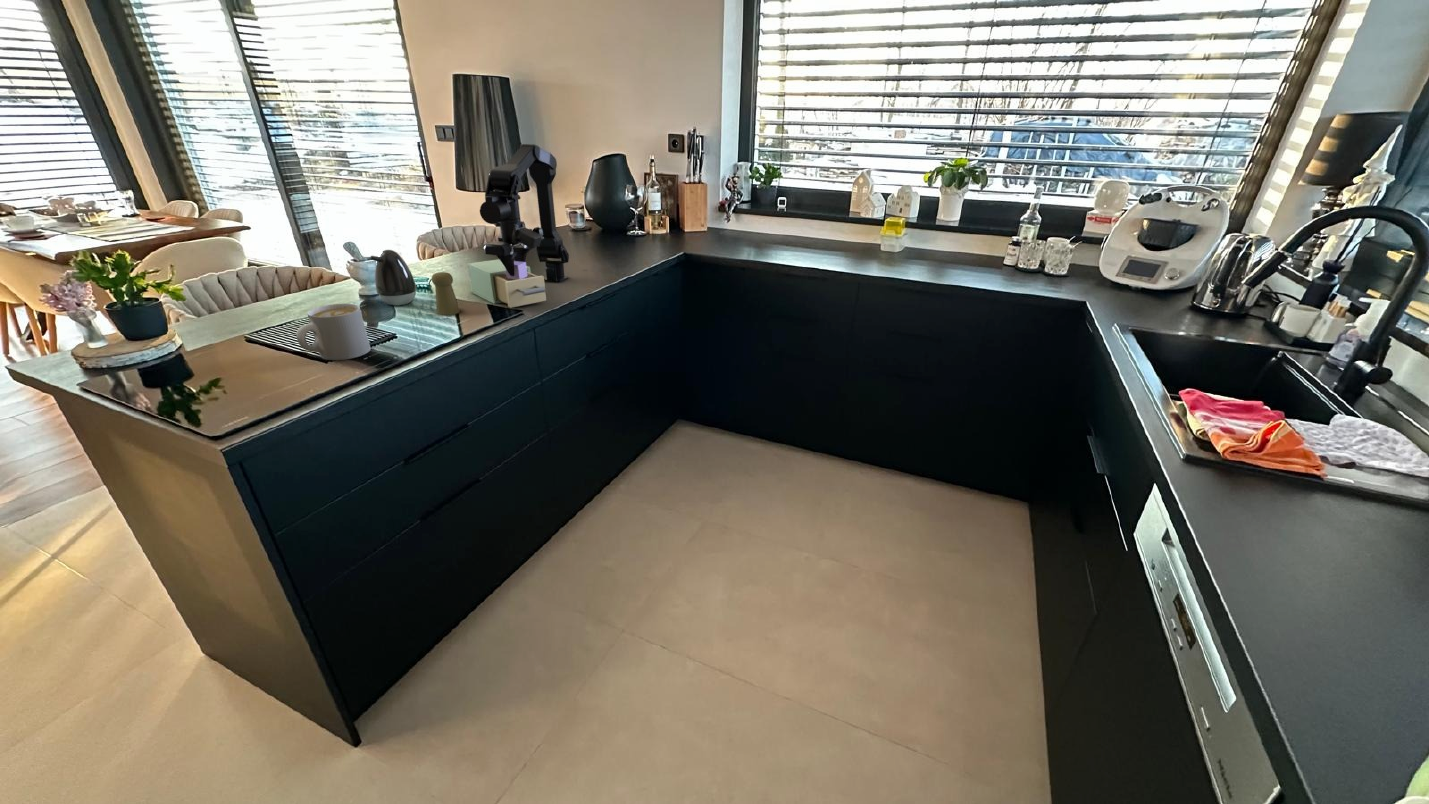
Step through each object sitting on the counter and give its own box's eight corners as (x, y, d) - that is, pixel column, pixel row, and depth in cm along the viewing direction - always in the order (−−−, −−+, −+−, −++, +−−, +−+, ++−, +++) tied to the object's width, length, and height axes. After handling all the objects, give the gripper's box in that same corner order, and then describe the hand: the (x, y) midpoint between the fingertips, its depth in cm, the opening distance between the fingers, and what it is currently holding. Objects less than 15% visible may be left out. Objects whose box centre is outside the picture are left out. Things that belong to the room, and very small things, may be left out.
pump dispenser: (371, 304, 159) (357, 250, 152) (404, 295, 167) (392, 244, 160) (394, 310, 155) (381, 255, 148) (427, 301, 163) (416, 249, 156)
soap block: (515, 274, 164) (513, 260, 162) (527, 276, 163) (526, 262, 161) (506, 278, 160) (504, 263, 159) (519, 279, 160) (517, 265, 158)
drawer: (554, 304, 162) (552, 279, 159) (518, 311, 155) (515, 286, 152) (523, 290, 174) (520, 267, 170) (488, 297, 166) (484, 272, 163)
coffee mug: (361, 340, 134) (350, 300, 129) (377, 352, 128) (366, 310, 124) (296, 355, 125) (282, 312, 120) (310, 368, 119) (296, 324, 115)
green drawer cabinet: (533, 296, 171) (530, 266, 167) (494, 304, 163) (489, 273, 159) (510, 286, 180) (506, 258, 176) (472, 292, 172) (467, 263, 168)
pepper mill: (454, 307, 159) (448, 269, 154) (463, 312, 155) (456, 273, 150) (433, 311, 155) (425, 272, 150) (441, 316, 152) (433, 276, 147)
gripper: (516, 225, 144) (523, 284, 152) (552, 215, 161) (557, 269, 168) (479, 222, 147) (487, 280, 154) (518, 212, 163) (524, 265, 170)
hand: (516, 274), depth 161 cm, fingers closed on soap block, 4 cm apart
